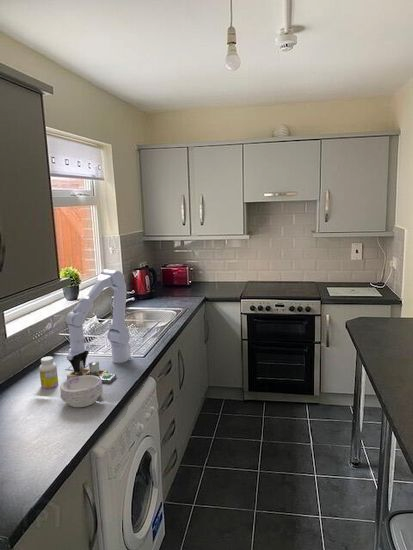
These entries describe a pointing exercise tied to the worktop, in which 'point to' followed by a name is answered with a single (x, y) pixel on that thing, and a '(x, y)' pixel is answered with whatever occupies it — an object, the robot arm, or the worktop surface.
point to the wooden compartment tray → (85, 373)
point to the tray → (73, 369)
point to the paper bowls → (81, 390)
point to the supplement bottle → (48, 373)
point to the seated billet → (94, 368)
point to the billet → (80, 369)
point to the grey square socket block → (106, 380)
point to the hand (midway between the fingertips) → (79, 369)
